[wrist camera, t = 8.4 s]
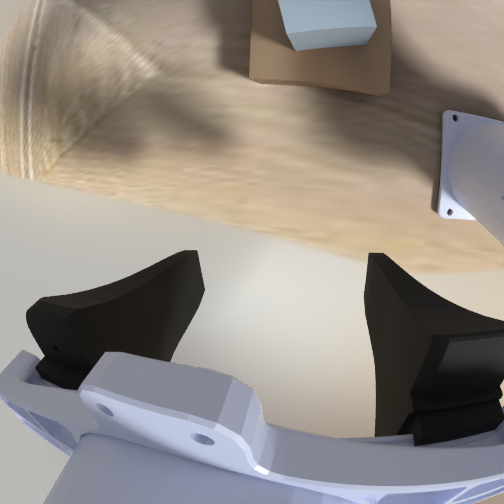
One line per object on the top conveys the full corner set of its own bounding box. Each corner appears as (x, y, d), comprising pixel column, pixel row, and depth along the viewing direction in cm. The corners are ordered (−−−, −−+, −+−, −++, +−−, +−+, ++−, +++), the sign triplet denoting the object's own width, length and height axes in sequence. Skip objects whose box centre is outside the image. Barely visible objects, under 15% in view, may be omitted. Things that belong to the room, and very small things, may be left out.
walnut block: (378, -2, 13) (388, -23, 9) (377, 96, 17) (389, 93, 13) (266, -11, 14) (253, -33, 11) (262, 84, 18) (249, 78, 15)
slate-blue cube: (349, -13, 10) (354, -42, 7) (365, 45, 12) (376, 26, 9) (281, -6, 12) (268, -34, 8) (295, 51, 13) (286, 34, 10)
